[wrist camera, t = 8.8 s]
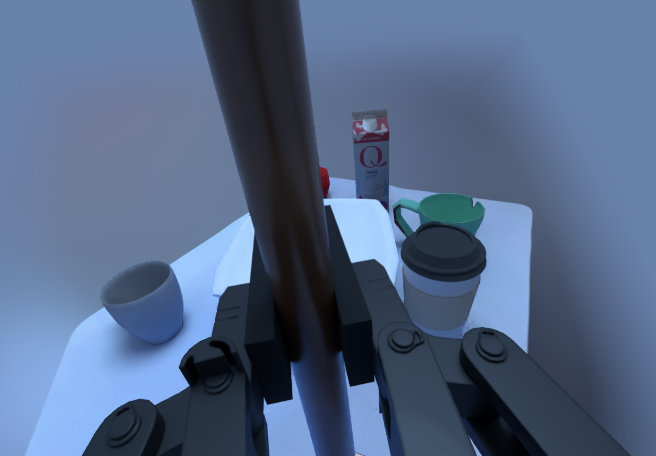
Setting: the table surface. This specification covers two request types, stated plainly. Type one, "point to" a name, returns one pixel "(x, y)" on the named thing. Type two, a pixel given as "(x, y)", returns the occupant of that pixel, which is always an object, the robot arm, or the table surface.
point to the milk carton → (371, 155)
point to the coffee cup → (441, 277)
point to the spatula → (283, 192)
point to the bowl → (356, 230)
